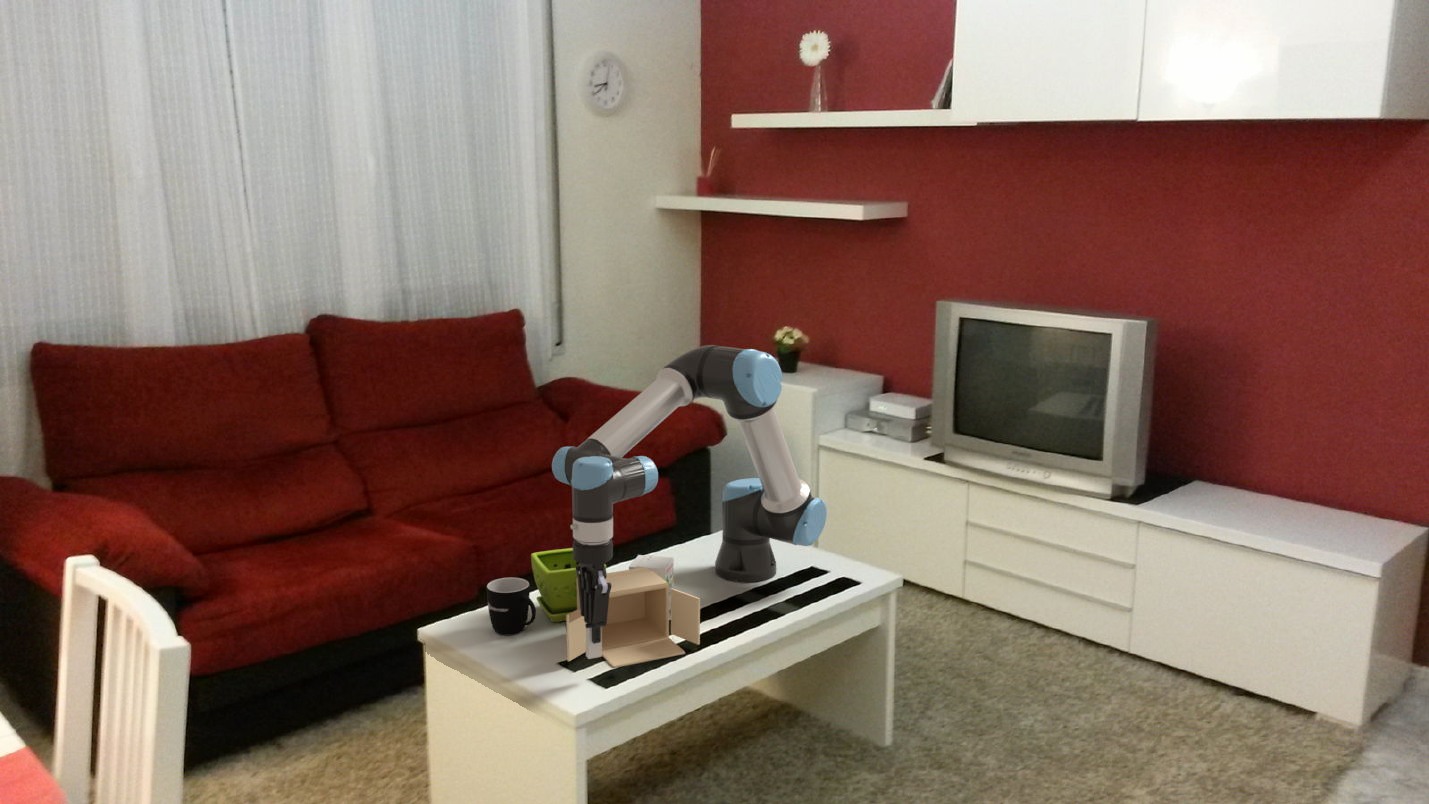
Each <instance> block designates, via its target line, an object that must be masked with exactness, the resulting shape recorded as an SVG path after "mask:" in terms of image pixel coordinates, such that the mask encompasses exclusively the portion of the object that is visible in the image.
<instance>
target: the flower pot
mask: <svg viewBox="0 0 1429 804" xmlns="http://www.w3.org/2000/svg"><path fill="white" fill-rule="evenodd" d="M530 559H531V560H530V561H531V569H532V574H533V577H534V581H535V585H536V588H537V590H538V593H540V596H537V597H536V600H537V603H538V604H539V605H540V607H541V608H542V611H543V612H544V613H545V614H546V616H547V617H548V619H550V620H551V622H554V623H559V622H564V621H565V622H567V618H566V615H568V614H570V613H571V612H573V611H575V610H577V578H578V577H577V573H576V566H578V565H581V563H579V562H577V561H575V560H574V558H573V547H569V548H562V549H560V548H559V549H551V550H545V551H537V552H533V553H531V554H530ZM577 563H578V564H577ZM555 565H556V566H555ZM567 565H570V568H566V566H567ZM604 566H605V569H606V570H607V565H606V564H605V565H604Z"/></svg>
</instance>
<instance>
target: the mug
mask: <svg viewBox="0 0 1429 804" xmlns="http://www.w3.org/2000/svg"><path fill="white" fill-rule="evenodd" d="M530 588H531V587H530V583H529V581H528V580H526V579H524V578H520V577H502V578H497V579H494V580H491V581H490V582H488V583H487V585H486V599H487V607H488V615H489V619H490V623H491V624H490V625H491V627H492V630H494V632H495V633H496V634H497V635H502V636H511V635H512V636H514V635H517V634H520V633H522V632H523V631H524V630H525V629H526V626H530V625H531V624H533V623H534V621H535V620H536V617H537V609H536V605H535V603H534V602H533V601H532V599H531V598H530V594H531V593H530ZM529 608H530V612H531V617H530V619H529V618H528V616H529ZM528 619H529V621H528Z"/></svg>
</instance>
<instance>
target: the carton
mask: <svg viewBox="0 0 1429 804" xmlns="http://www.w3.org/2000/svg"><path fill="white" fill-rule="evenodd" d="M605 581H606V583H611V585H612V586H611V591H610V594H609V604H608V614H607V625H606V626H602V657H603V658H604V660H605V661H607V663H609V665H610V666H611V667H612V668H614V669H616V668H621V667H625V666H631V665H635V664H641V663H646V662H651V661H655V660H661V659H666V658H671V657H675V656H680V655H681V656H682V655H685V654H686V652H685V650H684V649H683V648H681V647H680V646H679V645H678V644H677V643H675V641H673V640H672V639H671V638H670V634H671V635H672V636H675V637H677V638H680V639H683V640H685V641H688V642H691V643H693V644H695V645H697V646H698V645H700V644H701V640H700V639H701V638H700V637H701V633H700V631H701V628H700V626H701V618H700V617H701V598H700V597H699V596H698V597H697V596H695V595H692V594H689V593H687V592H685V591H684V592H683V591H681V590H678V589H675V588H674V587H673V588H672V589H671V610H670V611H669V584H668V583H667V582H666V581H665V580H664V579H662V578H661V577H660V576H658V575H657V574H656V573H654V572H653V571H651V570H649V569H648V568H647V567H643V568H636V569H630V570H629V569H625V570H618V571H613V572H606V579H605ZM579 608H580V598H579V588H578V578H577V609H579Z"/></svg>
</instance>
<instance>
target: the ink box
mask: <svg viewBox="0 0 1429 804" xmlns="http://www.w3.org/2000/svg"><path fill="white" fill-rule="evenodd" d="M643 567H647V568H648V569H649V570H651V571H653V572H654V573H656V574H657V575H658V576H660V577H661V578H662V579H664V580H665V581H666V582H667V583H668V584H669V612H671V589H672V588H673V589H674V557H670V556H661V555H653V554H652V555H650V554H645V555H644V554H643V555H642V554H637V556H636V558H634V560H633V561H632V562H631V563H630V565H629V566H628V570H630V569H636V568H643Z"/></svg>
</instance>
